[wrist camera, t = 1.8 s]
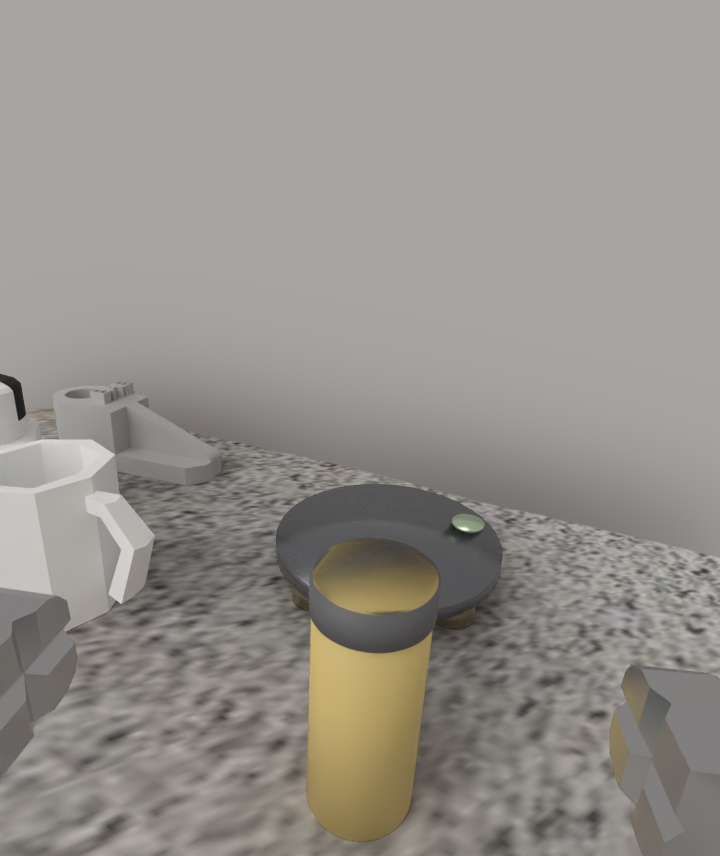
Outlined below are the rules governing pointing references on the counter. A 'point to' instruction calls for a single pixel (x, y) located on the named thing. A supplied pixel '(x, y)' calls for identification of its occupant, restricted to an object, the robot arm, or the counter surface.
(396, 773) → the yellow lidded tumbler
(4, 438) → the medicine bottle
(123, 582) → the mug
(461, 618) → the plate
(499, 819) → the counter surface
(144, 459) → the sloped support bracket
